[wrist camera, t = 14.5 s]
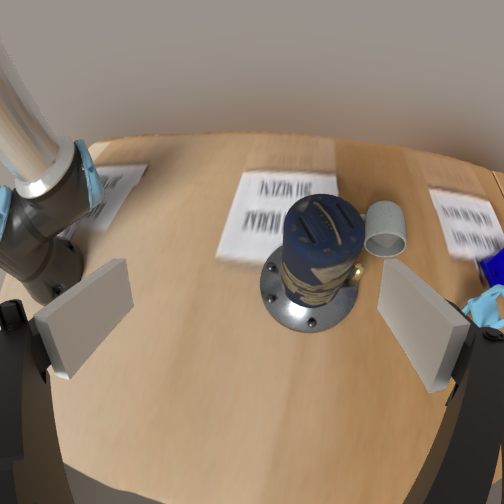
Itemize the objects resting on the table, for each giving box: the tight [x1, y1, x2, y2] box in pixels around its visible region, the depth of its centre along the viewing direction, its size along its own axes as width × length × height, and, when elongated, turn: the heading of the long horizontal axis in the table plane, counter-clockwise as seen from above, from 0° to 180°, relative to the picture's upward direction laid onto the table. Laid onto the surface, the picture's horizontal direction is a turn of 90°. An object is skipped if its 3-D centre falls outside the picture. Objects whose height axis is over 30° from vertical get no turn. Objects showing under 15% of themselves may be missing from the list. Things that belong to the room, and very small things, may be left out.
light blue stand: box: [461, 284, 504, 329], centre depth 36 cm, size 8×8×12 cm
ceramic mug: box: [360, 200, 407, 257], centre depth 48 cm, size 11×8×8 cm
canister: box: [281, 194, 365, 308], centre depth 38 cm, size 10×10×18 cm
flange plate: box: [260, 246, 365, 333], centre depth 44 cm, size 16×16×6 cm
